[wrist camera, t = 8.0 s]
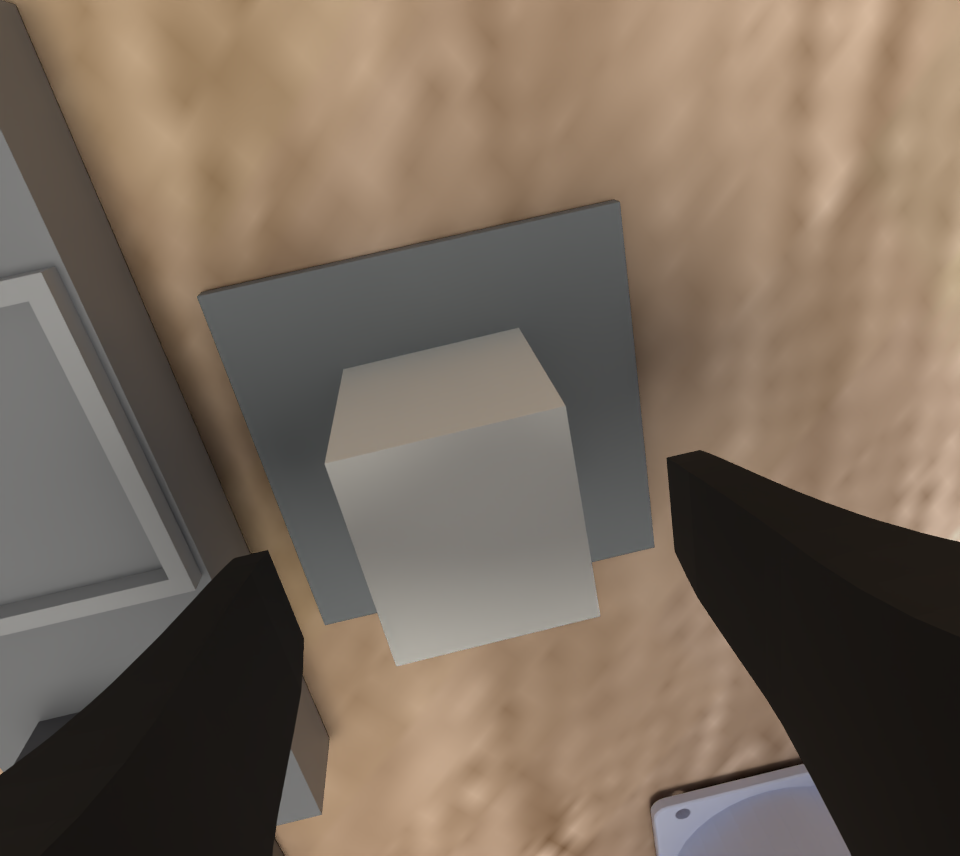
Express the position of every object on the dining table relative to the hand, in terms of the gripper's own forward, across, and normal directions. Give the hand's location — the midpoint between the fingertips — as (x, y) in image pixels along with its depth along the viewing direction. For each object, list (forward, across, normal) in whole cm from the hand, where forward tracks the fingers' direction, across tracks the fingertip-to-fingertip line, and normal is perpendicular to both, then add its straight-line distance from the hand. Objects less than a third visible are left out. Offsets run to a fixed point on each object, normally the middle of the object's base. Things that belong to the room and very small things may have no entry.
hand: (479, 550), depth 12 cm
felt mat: (+5, 0, 0) cm, 5 cm away
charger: (+4, 0, 0) cm, 4 cm away
